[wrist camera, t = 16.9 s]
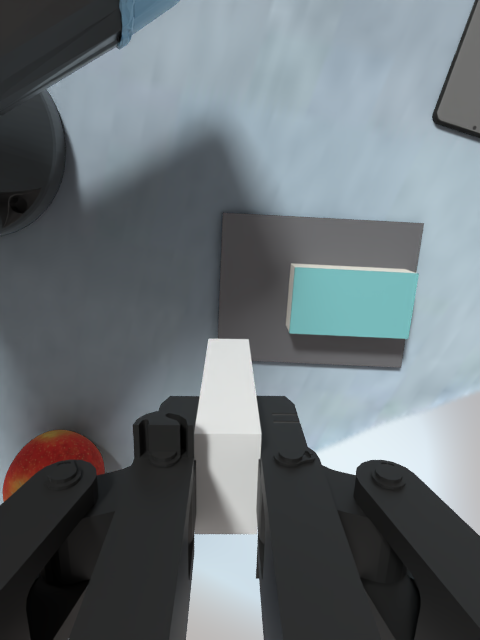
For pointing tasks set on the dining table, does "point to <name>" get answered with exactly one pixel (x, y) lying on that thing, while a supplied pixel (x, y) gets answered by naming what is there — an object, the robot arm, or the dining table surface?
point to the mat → (274, 273)
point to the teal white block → (350, 301)
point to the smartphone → (463, 82)
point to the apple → (49, 457)
